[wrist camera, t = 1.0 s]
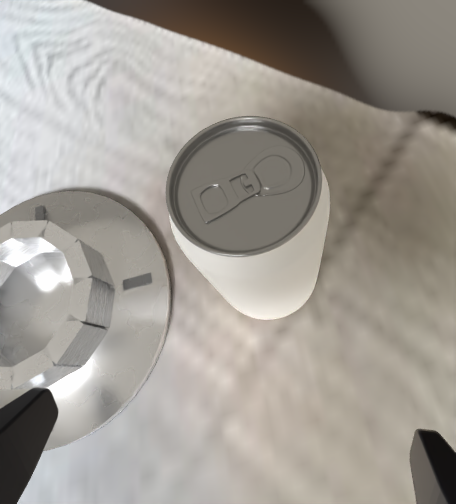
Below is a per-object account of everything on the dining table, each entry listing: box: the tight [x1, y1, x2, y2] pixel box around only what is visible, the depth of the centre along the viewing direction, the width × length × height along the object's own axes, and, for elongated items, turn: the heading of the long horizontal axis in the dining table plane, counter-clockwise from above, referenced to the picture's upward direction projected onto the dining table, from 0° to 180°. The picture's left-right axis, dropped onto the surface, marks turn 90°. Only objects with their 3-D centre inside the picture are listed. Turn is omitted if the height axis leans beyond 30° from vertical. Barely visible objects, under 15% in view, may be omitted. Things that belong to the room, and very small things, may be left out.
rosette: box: [0, 191, 171, 451], centre depth 24 cm, size 18×18×4 cm
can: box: [166, 116, 330, 320], centre depth 18 cm, size 6×6×12 cm
